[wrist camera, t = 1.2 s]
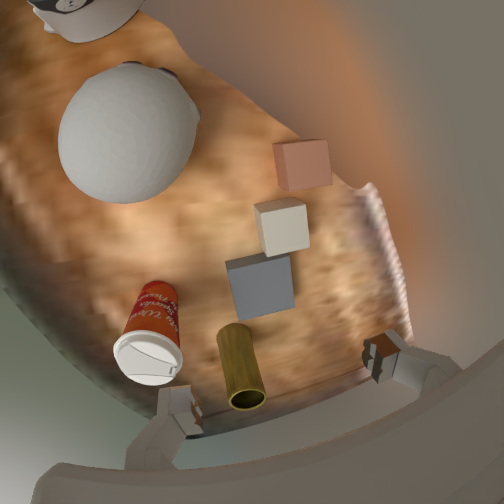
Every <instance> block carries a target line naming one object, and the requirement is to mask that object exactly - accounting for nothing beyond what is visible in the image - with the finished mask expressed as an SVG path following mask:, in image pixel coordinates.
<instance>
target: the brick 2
mask: <svg viewBox="0 0 504 504" xmlns="http://www.w3.org/2000/svg"><path fill="white" fill-rule="evenodd" d="M253 207H254V213H255V219H256V225H257V231H258V238H259V244H260V246H261V247H262V249H263V251H264V252H265V254H266V256H267V257H270V256H274V255H279V254H283V253H287V252H292V251H296V250H300V249H305V248H309V247H310V243H309V232H308V221H307V211H306V204H304V203H302V202H301V201H299V200H298V199H296V198H294V197H292V198H286V199H281V200H276V201H270V202H265V203H260V204H255V205H253Z"/></svg>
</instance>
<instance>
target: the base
mask: <svg viewBox="0 0 504 504" xmlns="http://www.w3.org/2000/svg"><path fill="white" fill-rule="evenodd" d="M225 264H226V268H227V273H228V277H229V281H230V286H231V290H232V294H233V298H234V303H235V307H236V311H237V315H238V319H239V321H242V320H246V319H251V318H255V317H259V316H263V315H267V314H271V313H275V312H279V311H283V310H286V309H290V308H294V307H295V303H294V293H293V283H292V274H291V265H290V256H289V255H288V253H283V254H279V255H274V256H270V257H267V256H266V254H265V253H261V254H256V255H252V256H248V257H243V258H239V259H234V260H230V261H225Z"/></svg>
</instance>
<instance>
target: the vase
mask: <svg viewBox="0 0 504 504" xmlns="http://www.w3.org/2000/svg"><path fill="white" fill-rule="evenodd" d="M217 343H218V346H219V352H220V357H221V362H222V367H223V372H224V376H225V381H226V387H227V394H228V399H229V404H230V405H231V406H232V407H233V408H234V409H237V410H252V409H255V408H257V407H259V406H261V405H262V404H263V403H264V402H265V401H266V392H265V389H264V385H263V382H262V378H261V375H260V371H259V368H258V364H257V360H256V357H255V353H254V348H253V343H252V335H251V332H250V330H249V329H248V328H247V327H245V326H243V325H240V324H231V325H228V326H225V327H224V328H222V329H221V330H220V331H219V332H218V334H217Z"/></svg>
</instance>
